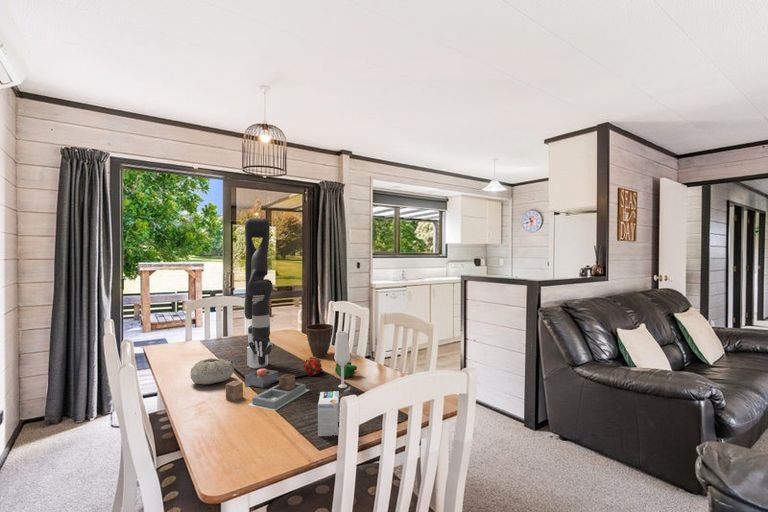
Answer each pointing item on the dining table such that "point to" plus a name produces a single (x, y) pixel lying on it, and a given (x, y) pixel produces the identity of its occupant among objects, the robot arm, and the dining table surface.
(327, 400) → the light bulb box
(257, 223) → the robot arm
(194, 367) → the decorative shell
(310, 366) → the dragon fruit
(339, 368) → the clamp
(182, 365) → the dining table surface
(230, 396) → the walnut billet
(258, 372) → the button
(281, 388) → the block
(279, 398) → the gray compartment tray
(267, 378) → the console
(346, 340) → the champagne flute
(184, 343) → the dining table surface
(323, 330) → the plant pot
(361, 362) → the dining table surface
